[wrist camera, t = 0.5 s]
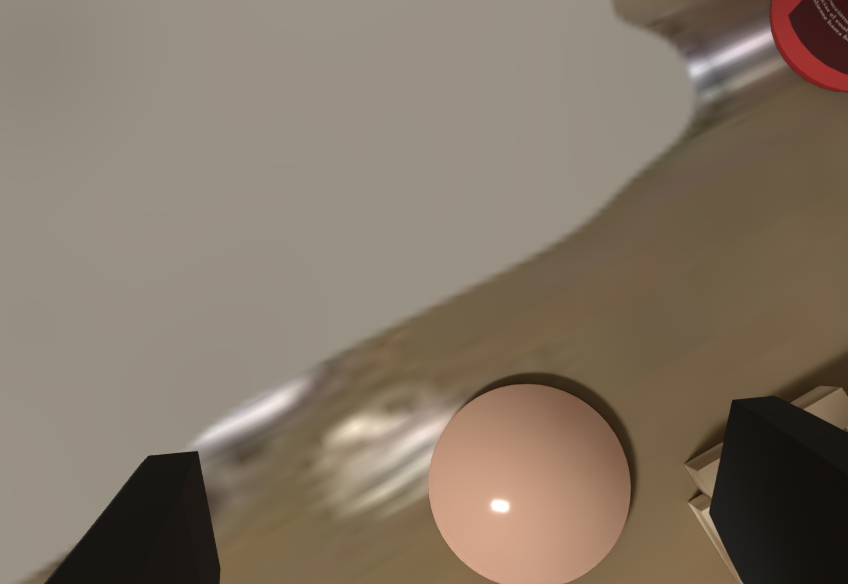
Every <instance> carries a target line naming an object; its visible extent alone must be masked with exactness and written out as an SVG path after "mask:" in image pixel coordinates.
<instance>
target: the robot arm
mask: <svg viewBox="0 0 848 584" xmlns="http://www.w3.org/2000/svg"><path fill="white" fill-rule="evenodd" d="M709 515H710V517H711V519H712V521H713V524H714V526H715V528H716V530H717V532H718V534H719V537H720V539H721V541H722V543H723V545H724V547H725V550H726V552H727V554H728V556H729V558H730V559H731V561H732V563H733V565H734V567H735V569H736V571H737V573H738V575H739V577H740V579H741V581H742V583H743V584H848V432H846V431H844V430H842V429H840V428H838V427H836V426H835V425H833V424H831V423H829V422H827V421H825V420H823V419H821V418H819V417H817V416H815V415H813V414H811V413H809V412H807V411H805V410H803V409H801V408H799V407H797V406H795V405H793V404H791V403H789V402H786V401H784V400H782V399H780V398H777V397H775V396H768V397H757V398H747V399H737V400H732V404H731V409H730V413H729V418H728V423H727V428H726V433H725V437H724V442H723V447H722V452H721V456H720V461H719V466H718V471H717V476H716V480H715V485H714V490H713V495H712V500H711V504H710V509H709ZM219 582H220V564H219V559H218V554H217V548H216V543H215V538H214V533H213V528H212V522H211V517H210V512H209V507H208V502H207V496H206V491H205V486H204V481H203V475H202V470H201V465H200V460H199V455H198V451H193V452H183V453H172V454H162V455H151V456H148V457H147V458H146V459H145V460H144V461H143V462H142V463H141V464H140V466H139V467H138V468H137V470H136V471H135V472H134V473H133V474H132V476H131V477H130V478H129V480H128V481H127V482H126V483H125V485H124V486H123V487H122V488H121V490H120V491H119V492H118V494H117V495H116V496H115V497H114V499H113V500H112V501H111V503H110V504H109V505H108V506H107V508H106V509H105V510H104V511H103V513H102V514H101V515H100V516H99V518H98V519H97V520H96V521H95V523H94V524H93V525H92V526H91V528H90V529H89V530H88V531H87V533H86V534H85V535H84V536H83V538H82V539H81V540H80V541H79V543H78V544H77V545H76V546H75V547H74V549H73V550H72V551H71V552H70V553H69V555H68V556H67V557H66V558H65V559H64V560H63V562H62V563H61V564H60V565H59V566H58V568H57V569H56V570H55V571H54V572H53V574H52V575H51V576H50V577H49V578H48V580H47V581H46V582H45V583H44V584H219Z"/></svg>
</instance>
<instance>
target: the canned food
mask: <svg viewBox="0 0 848 584" xmlns="http://www.w3.org/2000/svg"><path fill="white" fill-rule="evenodd" d="M770 25H771V33H772V35H773V38H774V41H775V44H776V47H777V49H778V51H779V52H780V54H781V56H782V57H783V59H784V60H785V62H786V63H787V64H788V65H789V66H790V67H791V68H792V69H793V71H794V72H796V73H797V74H798V75H800V76H801V77H802V78H804V79H805V80H806V81H808V82H810V83H812V84H814V85H816V86H818V87H820V88H824V89H828V90H832V91H835V92H848V0H771V6H770Z"/></svg>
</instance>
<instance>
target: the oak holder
mask: <svg viewBox="0 0 848 584" xmlns="http://www.w3.org/2000/svg"><path fill="white" fill-rule="evenodd" d="M790 403H791V404H793V405H795V406H797V407H799V408H801V409H803V410H805V411H807V412H809V413H811V414H813V415H815V416H817V417H819V418H821V419H823V420H825V421H827V422H829V423H831V424H833V425H835V426H836V427H838V428H840V429H842V430H844V431H846V432H848V396H847V395H846V393H845V392H844V390H843V389H842V387H831V386H818V387H816V388H814V389H813V390H811V391H809V392H807V393H806V394H804V395H802V396H801V397H799V398H797V399H795V400H794V401H792V402H790ZM723 442H724V441H723ZM723 442H722V443H720V444H718V445H716V446H715V447H713V448H711V449H710V450H708V451H706V452H704V453H703V454H701V455H699V456H697V457H696V458H694V459H692V460H691V461H689V462H687V463H685V464H684V465H685V467H686V468H687V470H688V472H689V473H690V475H691V476H692V478H693V480H694V481H695V483H696V484H697V486H698V488H699V489H700V491H701V493H702V494H701V495H700V496H698V497H696V498H694V499H693V500H691V501H689V502H688V503H689V505H690V507H691V508H692V510H693V512H694V513H695V515H696V516H697V518H698V520H699V521H700V523H701V525H702V526H703V528H704V529H705V531H706V533H707V534H708V536H709V538H710V539H711V541H712V542H713V544H714V546H715V547H716V549H717V551H718V552H719V554H720V555H721V557H722V559H723V560H724V562H725V564H726V565H727V567H728V569H729V570H730V572H731V573H732V575H733V577H734V578H735V580H736V582H737V583H738V584H743V583H742V581H741V579H740V577H739V575H738V573H737V571H736V569H735V567H734V565H733V563H732V561H731V559H730V558H729V556H728V554H727V552H726V550H725V547H724V545H723V543H722V541H721V539H720V537H719V534H718V532H717V530H716V528H715V526H714V524H713V521H712V519H711V517H710V515H709V509H710V504H711V500H712V495H713V490H714V485H715V480H716V476H717V471H718V466H719V461H720V456H721V452H722V447H723Z"/></svg>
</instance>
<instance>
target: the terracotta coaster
mask: <svg viewBox="0 0 848 584" xmlns="http://www.w3.org/2000/svg"><path fill="white" fill-rule="evenodd" d="M630 494H631V483H630V473H629V468H628V464H627V460H626V457H625V454H624V451H623V449H622V446H621V444H620V442H619V440H618V439H617V437H616V435H615V433H614V432H613V430H612V429H611V428H610V426H609V425H608V423H607V422H606V421H605V420H604V419H603V418H602V417H601V416H600V414H599V413H597V412H596V411H595V410H594V409H593V408H592V407H590V406H589V405H588V404H586V403H585V402H583V401H582V400H580V399H579V398H577V397H575V396H573V395H571V394H569V393H567V392H565V391H562V390H559V389H556V388H553V387H549V386H544V385H538V384H515V385H509V386H504V387H500V388H497V389H494V390H491V391H488V392H486V393H484V394H482V395H480V396H478V397H476V398H475V399H474V400H472V401H471V402H469V403H468V404H466V405H465V406H464V407H463V408H462V409H461V410H460V411H458V412H457V413H456V415H455V416H454V417H453V418H452V419H451V420H450V422H449V423H448V425H447V426H446V428H445V429H444V431H443V432H442V434H441V436H440V438H439V440H438V442H437V444H436V447H435V450H434V453H433V456H432V459H431V465H430V470H429V498H430V503H431V508H432V512H433V515H434V518H435V521H436V524H437V526H438V528H439V530H440V532H441V534H442V536H443V538H444V539H445V541H446V542H447V544H448V545H449V547H450V548H451V549H452V550H453V552H454V553H455V554H456V555H457V556H458V557H459V558H460V559H461V560H462V561H463V562H464V563H465V564H466V565H467V566H469V567H470V568H472V569H473V570H474V571H476V572H477V573H479V574H480V575H482V576H484V577H486V578H488V579H490V580H492V581H495V582H498V583H500V584H564V583H567V582H570V581H572V580H574V579H576V578H578V577H580V576H582V575H583V574H585V573H586V572H588V571H589V570H591V569H592V568H594V567H595V566H596V565H597V564H598V563H599V562H600V561H601V560H602V559H603V558H604V557H605V556H606V555H607V554H608V552H609V551H610V550H611V549H612V547H613V546H614V544H615V543H616V541H617V539H618V538H619V536H620V534H621V531H622V529H623V527H624V525H625V521H626V518H627V515H628V510H629V504H630Z"/></svg>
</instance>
